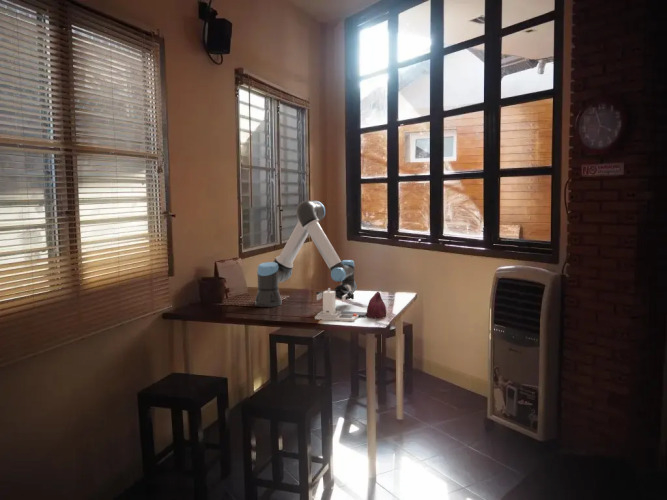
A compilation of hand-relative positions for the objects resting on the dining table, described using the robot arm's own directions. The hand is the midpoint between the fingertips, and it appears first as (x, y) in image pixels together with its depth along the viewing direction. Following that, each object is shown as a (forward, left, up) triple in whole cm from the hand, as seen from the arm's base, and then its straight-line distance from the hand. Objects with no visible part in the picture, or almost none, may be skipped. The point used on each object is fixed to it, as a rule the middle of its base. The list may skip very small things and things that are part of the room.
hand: (330, 298), depth 258 cm
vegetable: (+22, +9, -10) cm, 26 cm away
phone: (+10, +8, -10) cm, 16 cm away
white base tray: (+4, -1, -10) cm, 11 cm away
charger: (0, -1, -8) cm, 9 cm away
